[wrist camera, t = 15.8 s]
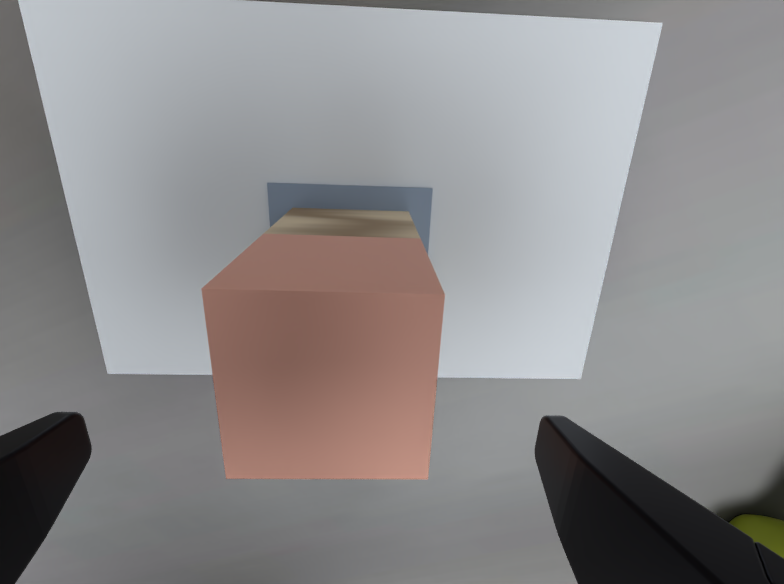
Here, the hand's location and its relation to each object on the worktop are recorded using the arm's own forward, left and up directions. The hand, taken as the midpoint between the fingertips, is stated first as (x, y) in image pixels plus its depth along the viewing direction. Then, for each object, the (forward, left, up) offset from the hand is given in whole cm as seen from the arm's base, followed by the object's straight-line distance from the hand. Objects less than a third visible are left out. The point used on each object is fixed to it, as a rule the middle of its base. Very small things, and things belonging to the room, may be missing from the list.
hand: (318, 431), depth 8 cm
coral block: (0, 0, -6) cm, 6 cm away
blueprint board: (0, +2, -12) cm, 13 cm away
